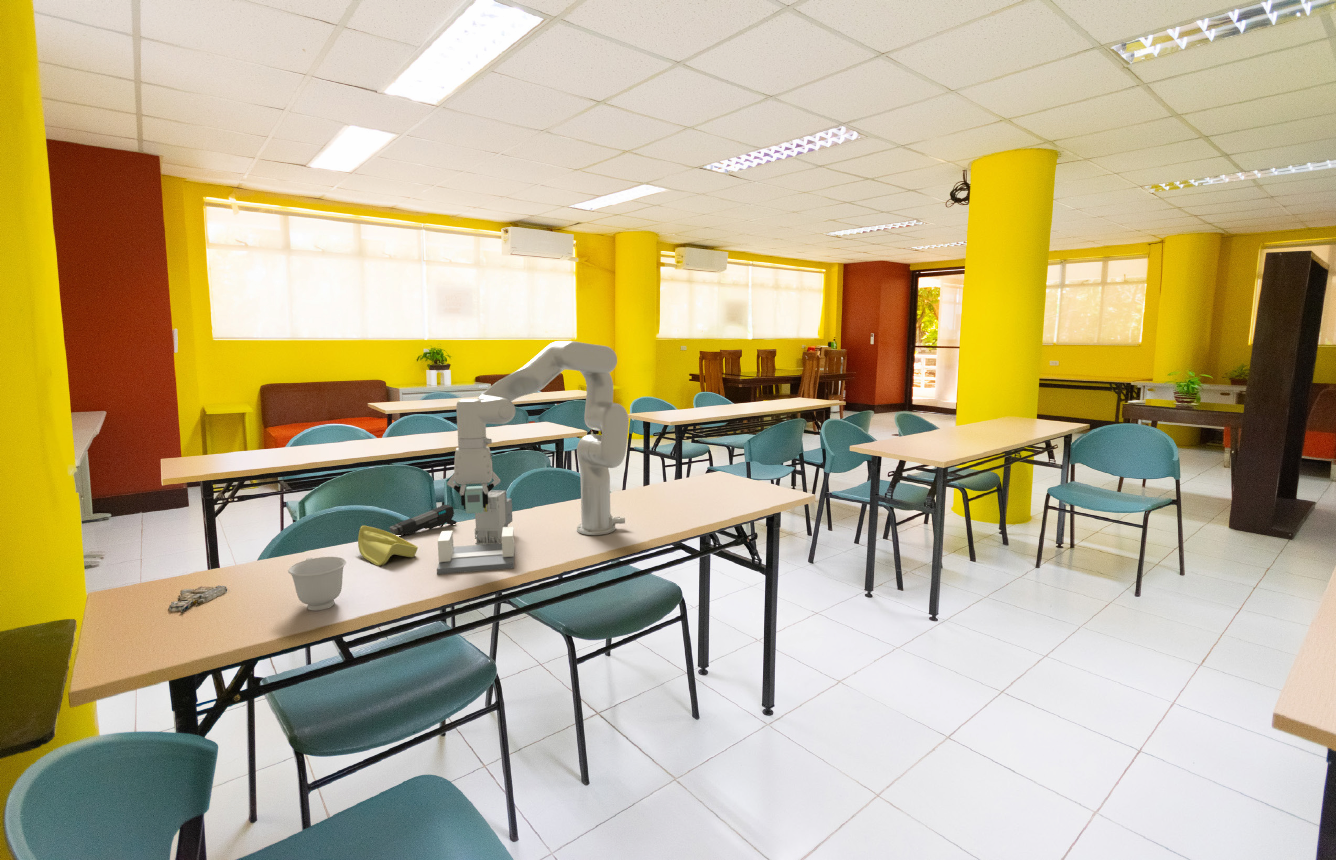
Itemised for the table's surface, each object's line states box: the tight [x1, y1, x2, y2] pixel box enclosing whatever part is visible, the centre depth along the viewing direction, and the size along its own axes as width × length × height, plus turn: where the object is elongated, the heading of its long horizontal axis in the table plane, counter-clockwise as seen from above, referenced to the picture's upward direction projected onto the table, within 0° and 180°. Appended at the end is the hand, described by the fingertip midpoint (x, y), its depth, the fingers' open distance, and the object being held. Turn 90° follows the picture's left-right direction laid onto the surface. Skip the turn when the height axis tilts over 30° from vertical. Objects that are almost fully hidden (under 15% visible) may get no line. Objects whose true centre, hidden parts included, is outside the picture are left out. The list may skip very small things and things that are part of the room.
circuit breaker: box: [474, 489, 513, 545], centre depth 201 cm, size 8×14×15 cm, turn 174°
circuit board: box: [168, 585, 228, 614], centre depth 154 cm, size 12×15×2 cm
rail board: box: [436, 526, 516, 575], centre depth 181 cm, size 20×18×8 cm
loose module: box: [465, 485, 484, 515], centre depth 178 cm, size 4×7×6 cm, turn 13°
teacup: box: [287, 556, 347, 611], centre depth 151 cm, size 12×15×10 cm
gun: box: [388, 504, 458, 536], centre depth 208 cm, size 4×20×10 cm, turn 133°
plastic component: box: [357, 525, 419, 567], centre depth 186 cm, size 20×7×10 cm
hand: (475, 506), depth 179 cm, fingers closed on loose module, 4 cm apart
